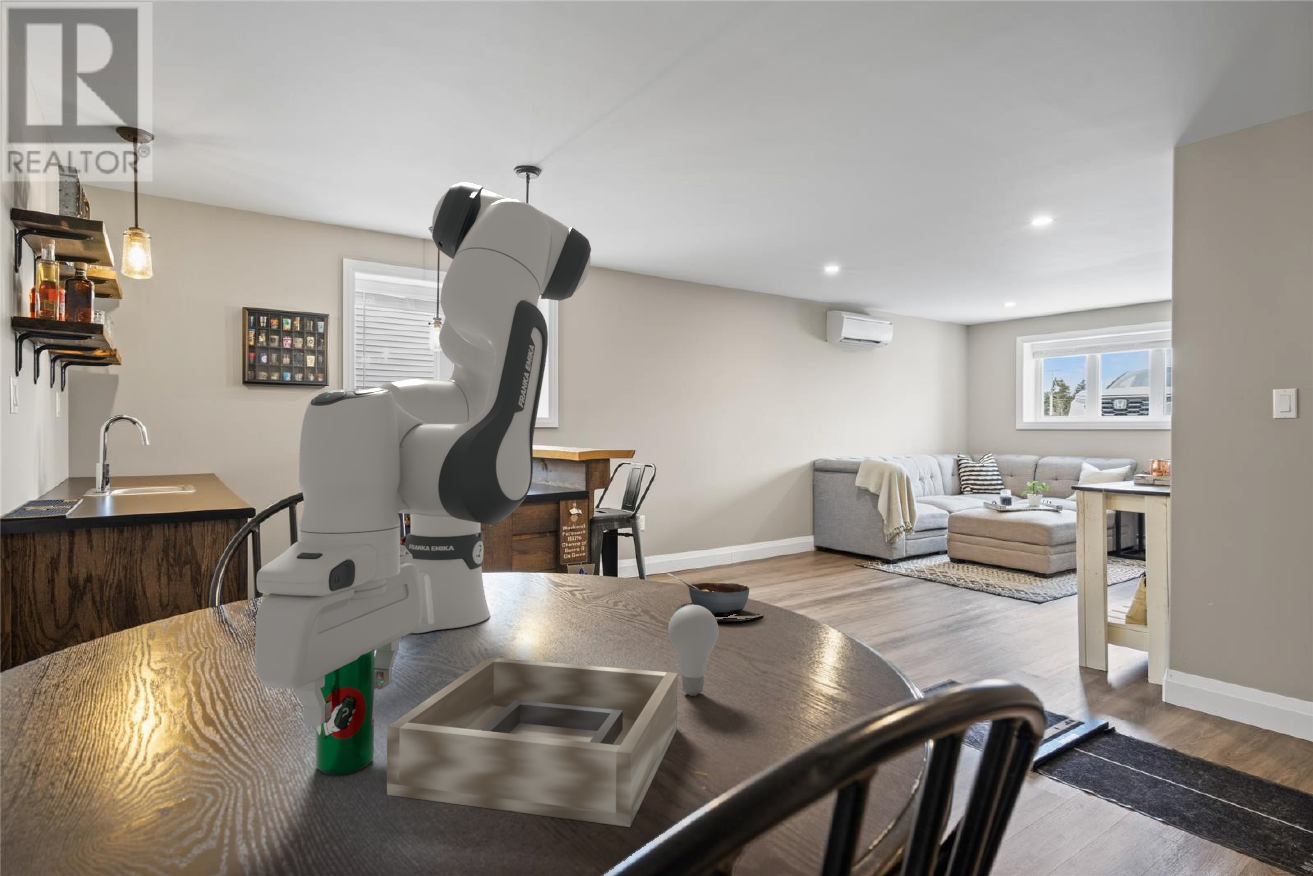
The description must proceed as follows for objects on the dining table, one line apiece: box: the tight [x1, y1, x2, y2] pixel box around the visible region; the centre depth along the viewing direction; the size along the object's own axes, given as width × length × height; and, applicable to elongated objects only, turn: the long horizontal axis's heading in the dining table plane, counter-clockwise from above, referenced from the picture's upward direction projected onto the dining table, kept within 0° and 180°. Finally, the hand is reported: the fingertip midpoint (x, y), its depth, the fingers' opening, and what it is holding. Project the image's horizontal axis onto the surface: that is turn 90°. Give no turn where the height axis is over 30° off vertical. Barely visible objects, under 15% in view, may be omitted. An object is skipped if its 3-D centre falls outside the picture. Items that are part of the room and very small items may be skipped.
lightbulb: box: [667, 604, 720, 697], centre depth 88 cm, size 6×6×11 cm
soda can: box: [315, 648, 376, 776], centre depth 69 cm, size 5×5×12 cm
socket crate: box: [386, 657, 679, 828], centre depth 71 cm, size 22×20×6 cm
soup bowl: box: [666, 573, 762, 623], centre depth 126 cm, size 15×16×7 cm
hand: (350, 703), depth 69 cm, fingers open, 8 cm apart
